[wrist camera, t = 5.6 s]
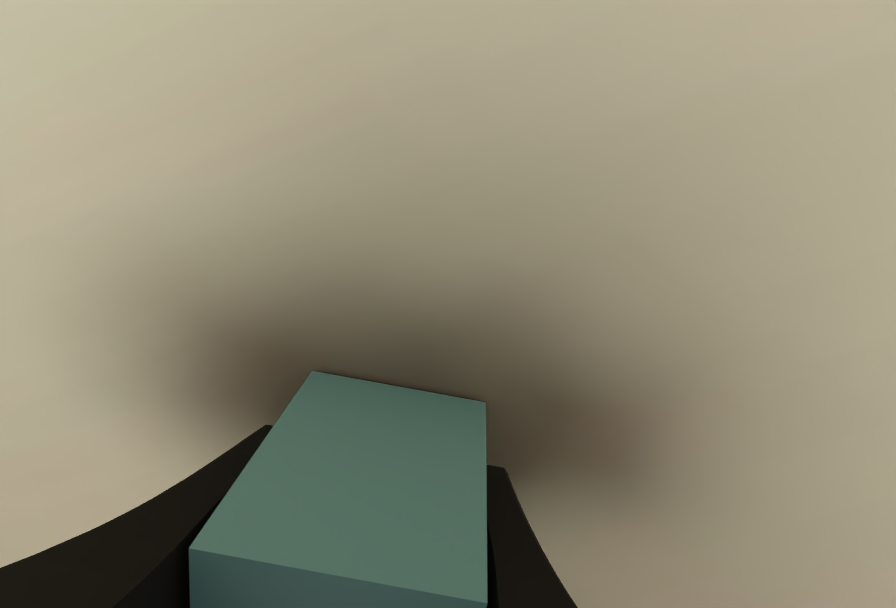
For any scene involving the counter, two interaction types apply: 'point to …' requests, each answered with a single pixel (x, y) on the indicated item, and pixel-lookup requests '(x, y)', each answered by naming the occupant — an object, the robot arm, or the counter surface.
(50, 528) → the counter surface
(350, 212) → the counter surface
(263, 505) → the teal box
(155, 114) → the counter surface
